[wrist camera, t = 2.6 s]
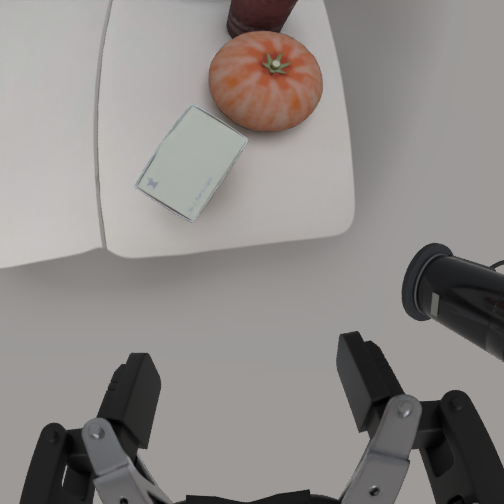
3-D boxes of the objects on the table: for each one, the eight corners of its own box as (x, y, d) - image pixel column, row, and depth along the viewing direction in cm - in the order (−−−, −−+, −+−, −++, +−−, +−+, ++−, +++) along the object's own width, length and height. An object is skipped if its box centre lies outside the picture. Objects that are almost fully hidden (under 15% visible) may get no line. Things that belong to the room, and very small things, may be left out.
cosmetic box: (197, 215, 27) (193, 229, 16) (160, 192, 26) (130, 189, 14) (231, 163, 27) (253, 140, 15) (195, 140, 26) (191, 100, 14)
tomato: (249, 159, 27) (268, 145, 19) (187, 84, 24) (183, 48, 17) (324, 107, 27) (360, 85, 20) (265, 39, 24) (284, 1, 17)
